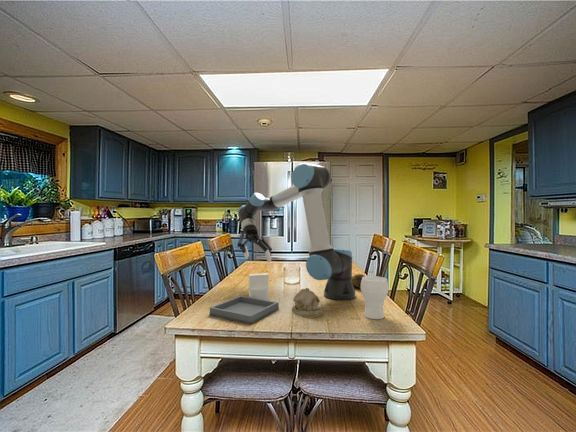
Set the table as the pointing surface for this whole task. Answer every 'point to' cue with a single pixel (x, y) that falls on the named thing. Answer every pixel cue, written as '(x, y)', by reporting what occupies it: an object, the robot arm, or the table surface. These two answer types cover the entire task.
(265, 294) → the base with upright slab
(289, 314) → the table surface
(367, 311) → the cup
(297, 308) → the ceramic model
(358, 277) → the potato
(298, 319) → the table surface
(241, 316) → the box
